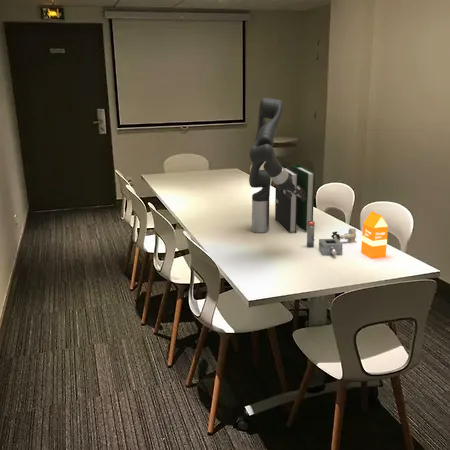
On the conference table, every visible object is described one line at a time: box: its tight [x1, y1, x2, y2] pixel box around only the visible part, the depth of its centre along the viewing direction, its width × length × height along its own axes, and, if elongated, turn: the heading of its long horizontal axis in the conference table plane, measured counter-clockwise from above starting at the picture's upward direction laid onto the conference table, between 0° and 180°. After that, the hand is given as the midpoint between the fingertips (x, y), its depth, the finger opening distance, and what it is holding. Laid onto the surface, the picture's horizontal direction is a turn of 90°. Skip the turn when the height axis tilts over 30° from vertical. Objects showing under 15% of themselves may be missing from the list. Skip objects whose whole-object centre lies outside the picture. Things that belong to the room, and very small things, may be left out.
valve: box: [330, 227, 357, 244], centre depth 243 cm, size 7×7×12 cm
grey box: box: [318, 238, 343, 256], centre depth 228 cm, size 9×13×5 cm
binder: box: [274, 164, 316, 234], centre depth 268 cm, size 27×15×32 cm, turn 9°
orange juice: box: [360, 210, 389, 259], centre depth 224 cm, size 8×9×20 cm
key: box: [306, 220, 316, 249], centre depth 237 cm, size 3×3×13 cm
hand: (297, 198), depth 228 cm, fingers open, 8 cm apart
